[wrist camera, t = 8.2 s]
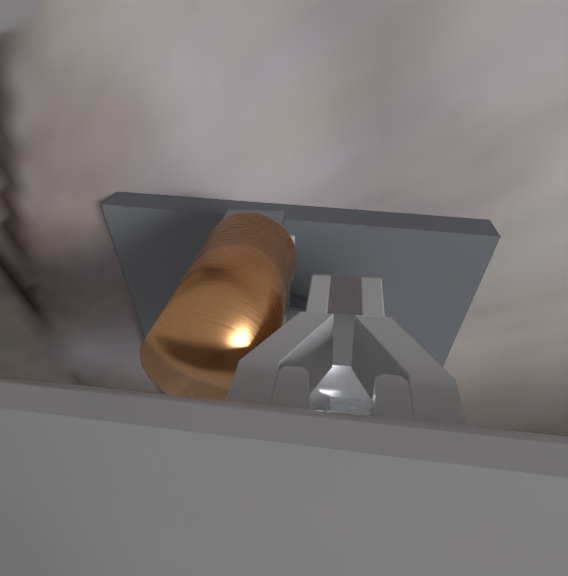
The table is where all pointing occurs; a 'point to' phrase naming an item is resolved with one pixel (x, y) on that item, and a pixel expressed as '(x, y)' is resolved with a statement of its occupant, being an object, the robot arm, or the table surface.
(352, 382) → the lever
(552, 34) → the table surface
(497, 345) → the table surface
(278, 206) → the housing plate
